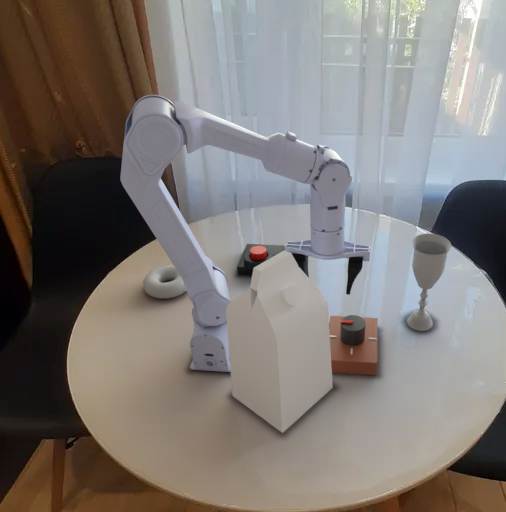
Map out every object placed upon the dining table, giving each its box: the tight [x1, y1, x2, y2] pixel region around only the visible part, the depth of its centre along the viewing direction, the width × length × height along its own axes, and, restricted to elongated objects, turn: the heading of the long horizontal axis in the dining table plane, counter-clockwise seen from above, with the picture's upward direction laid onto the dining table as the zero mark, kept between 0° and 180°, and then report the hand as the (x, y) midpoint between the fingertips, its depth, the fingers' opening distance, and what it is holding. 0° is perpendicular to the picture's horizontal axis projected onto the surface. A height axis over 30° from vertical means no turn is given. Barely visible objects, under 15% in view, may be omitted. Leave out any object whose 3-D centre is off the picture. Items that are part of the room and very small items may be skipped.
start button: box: [250, 246, 267, 260], centre depth 107 cm, size 4×4×2 cm
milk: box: [226, 250, 333, 434], centre depth 73 cm, size 12×12×26 cm
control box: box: [236, 243, 285, 277], centre depth 110 cm, size 11×9×4 cm
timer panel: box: [329, 315, 379, 376], centre depth 88 cm, size 12×9×3 cm
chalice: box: [406, 233, 452, 332], centre depth 90 cm, size 7×7×18 cm
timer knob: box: [340, 314, 366, 346], centre depth 86 cm, size 4×4×4 cm
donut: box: [142, 264, 187, 300], centre depth 103 cm, size 10×4×10 cm
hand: (327, 290), depth 88 cm, fingers open, 7 cm apart
